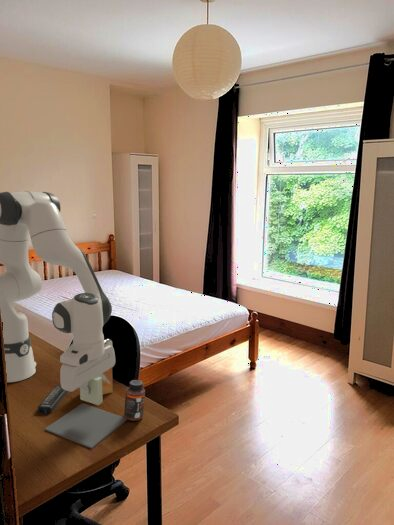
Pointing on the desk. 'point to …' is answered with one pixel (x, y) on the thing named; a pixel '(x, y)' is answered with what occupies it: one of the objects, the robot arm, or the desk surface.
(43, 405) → the multiport hub
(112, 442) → the desk surface
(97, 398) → the tile
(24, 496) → the desk surface
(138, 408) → the supplement bottle
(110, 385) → the small box
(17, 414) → the desk surface
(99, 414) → the mat
